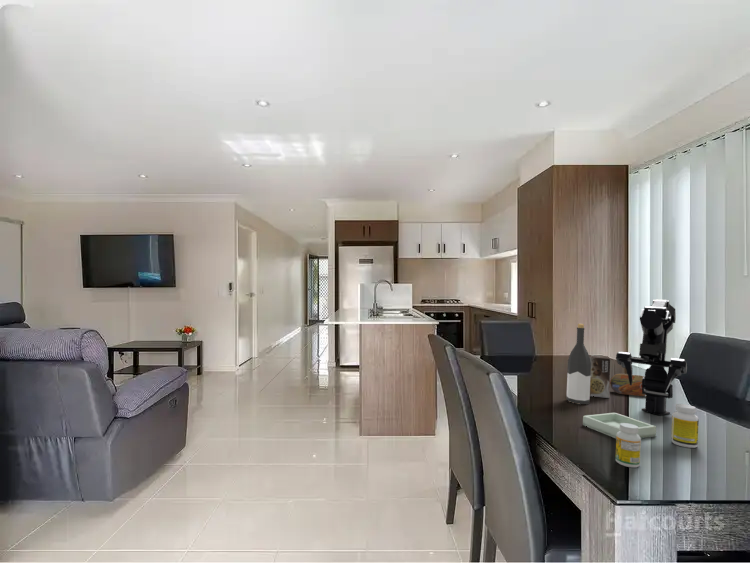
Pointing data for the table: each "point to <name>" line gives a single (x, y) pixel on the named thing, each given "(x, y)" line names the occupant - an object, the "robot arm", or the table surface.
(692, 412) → the pill bottle
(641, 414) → the table surface
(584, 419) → the tray
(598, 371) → the coffee box
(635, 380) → the tin
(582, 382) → the wine bottle
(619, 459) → the supplement bottle
